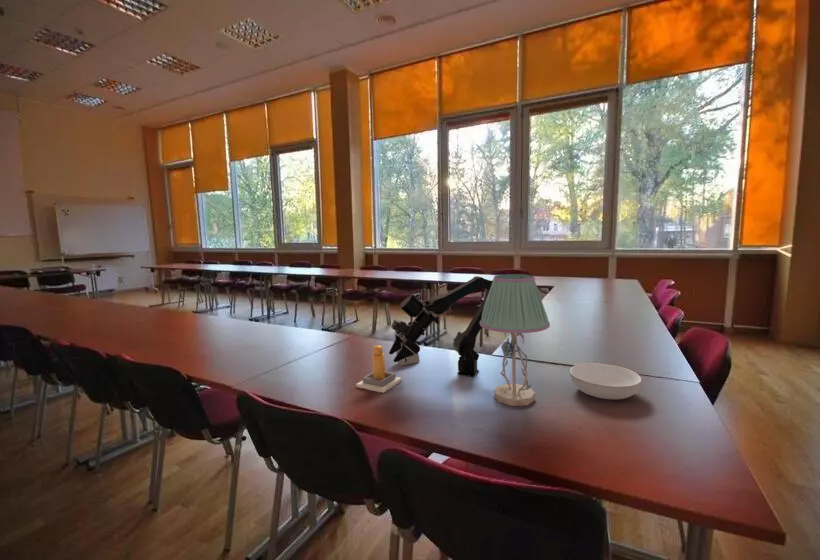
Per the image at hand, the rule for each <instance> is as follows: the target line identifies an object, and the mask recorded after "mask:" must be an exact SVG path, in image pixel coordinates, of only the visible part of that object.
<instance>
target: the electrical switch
mask: <svg viewBox="0 0 820 560" xmlns="http://www.w3.org/2000/svg"><path fill="white" fill-rule="evenodd" d="M399 350H400V349H399ZM399 350H398V351H396V352H395V354H396V355H397V354H398V352H399ZM414 354H415V353H414ZM416 363H420V355H419V353H418V354H415V355H411V356H409V357H406V358H404V359H402V360H400V361H398V362H397V364H398V366H400V367H402V366H407V365H411V364H412V365H413V364H416Z"/></svg>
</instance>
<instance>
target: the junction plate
mask: <svg viewBox="0 0 820 560" xmlns="http://www.w3.org/2000/svg"><path fill="white" fill-rule="evenodd" d="M396 375H397V374H396V373H395V372H388V371H385V379H383V380H382V381H381V380H377V379H373V371H372V372H370V373H369V374H367V375H365V376H363V377H362V380H361V381H359V382H358V383H356V388H358V389H359V388H360V389H363V388H364V389H365V390H369V391H372V392H377V393H381V392H382V394H385V393H386V392H387V390H388V391H389V390H390V388H391V389H392V388H393V386H394V387H395V386H396V384H397V385H398V384H400V383H401V382H403V378H402V377H399V376H398V377H397V376H396ZM364 389H363V390H364Z"/></svg>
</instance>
